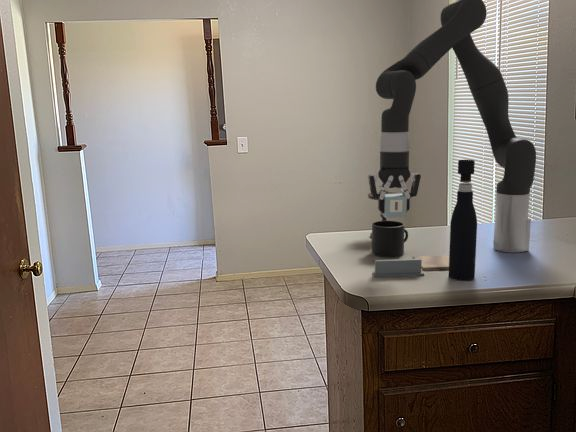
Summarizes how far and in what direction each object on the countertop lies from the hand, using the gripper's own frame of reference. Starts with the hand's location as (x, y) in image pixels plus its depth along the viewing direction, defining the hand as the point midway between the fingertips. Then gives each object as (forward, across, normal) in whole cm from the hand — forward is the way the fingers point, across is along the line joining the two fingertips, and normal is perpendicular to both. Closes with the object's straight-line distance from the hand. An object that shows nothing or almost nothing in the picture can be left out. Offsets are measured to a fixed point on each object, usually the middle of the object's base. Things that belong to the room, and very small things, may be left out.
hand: (393, 212), depth 151 cm
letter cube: (+1, 0, 0) cm, 1 cm away
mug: (+16, -3, -15) cm, 22 cm away
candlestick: (+16, -5, -35) cm, 39 cm away
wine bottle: (+16, -16, +10) cm, 24 cm away
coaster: (+15, -13, -2) cm, 20 cm away
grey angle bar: (+15, 0, +6) cm, 17 cm away
